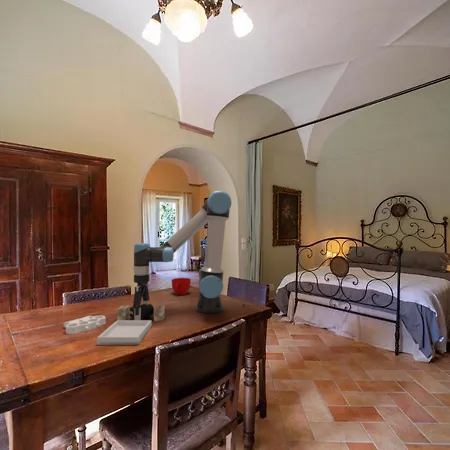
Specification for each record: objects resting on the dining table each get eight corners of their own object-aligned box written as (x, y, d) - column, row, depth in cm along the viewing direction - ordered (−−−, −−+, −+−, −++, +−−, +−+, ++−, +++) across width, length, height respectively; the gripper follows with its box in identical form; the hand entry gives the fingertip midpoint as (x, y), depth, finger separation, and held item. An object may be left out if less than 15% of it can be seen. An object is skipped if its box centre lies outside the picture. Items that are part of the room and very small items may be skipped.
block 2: (164, 317, 145) (164, 305, 145) (162, 321, 139) (162, 309, 139) (156, 317, 145) (157, 305, 145) (153, 321, 139) (154, 309, 139)
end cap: (136, 323, 136) (136, 309, 136) (128, 320, 141) (128, 306, 141) (154, 318, 143) (154, 304, 143) (146, 315, 148) (146, 302, 148)
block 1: (129, 317, 145) (129, 305, 145) (125, 321, 139) (125, 309, 139) (121, 317, 145) (121, 305, 145) (117, 321, 139) (117, 308, 139)
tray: (151, 326, 131) (151, 320, 131) (138, 345, 111) (138, 337, 111) (117, 326, 131) (117, 320, 131) (97, 344, 111) (97, 337, 111)
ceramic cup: (166, 297, 186) (166, 282, 186) (175, 291, 202) (175, 277, 202) (185, 298, 183) (185, 282, 183) (192, 292, 200) (192, 278, 200)
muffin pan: (93, 319, 143) (111, 324, 135) (56, 330, 128) (73, 337, 120) (93, 312, 143) (111, 317, 135) (56, 323, 128) (74, 329, 120)
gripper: (141, 270, 154) (141, 310, 154) (125, 278, 130) (125, 325, 130) (155, 270, 154) (155, 310, 154) (141, 278, 130) (141, 325, 130)
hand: (141, 317), depth 142 cm, fingers closed on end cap, 12 cm apart
